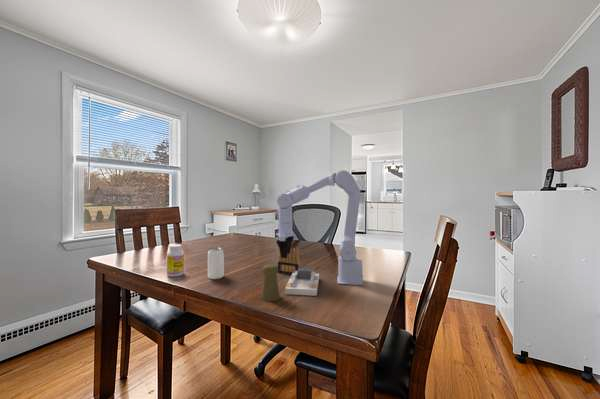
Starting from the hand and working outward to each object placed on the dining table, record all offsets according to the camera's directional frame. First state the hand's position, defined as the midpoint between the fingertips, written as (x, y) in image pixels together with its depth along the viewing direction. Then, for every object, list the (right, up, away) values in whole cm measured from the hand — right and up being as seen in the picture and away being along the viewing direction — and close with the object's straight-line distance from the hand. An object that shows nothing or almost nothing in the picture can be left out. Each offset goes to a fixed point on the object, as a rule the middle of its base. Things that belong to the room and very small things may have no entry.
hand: (285, 255), depth 104 cm
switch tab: (+8, -7, -5) cm, 12 cm away
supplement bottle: (-49, -10, +5) cm, 50 cm away
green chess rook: (-4, -10, -20) cm, 22 cm away
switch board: (+7, -10, -9) cm, 15 cm away
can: (-30, -10, +2) cm, 31 cm away
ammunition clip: (+1, -10, +6) cm, 12 cm away
